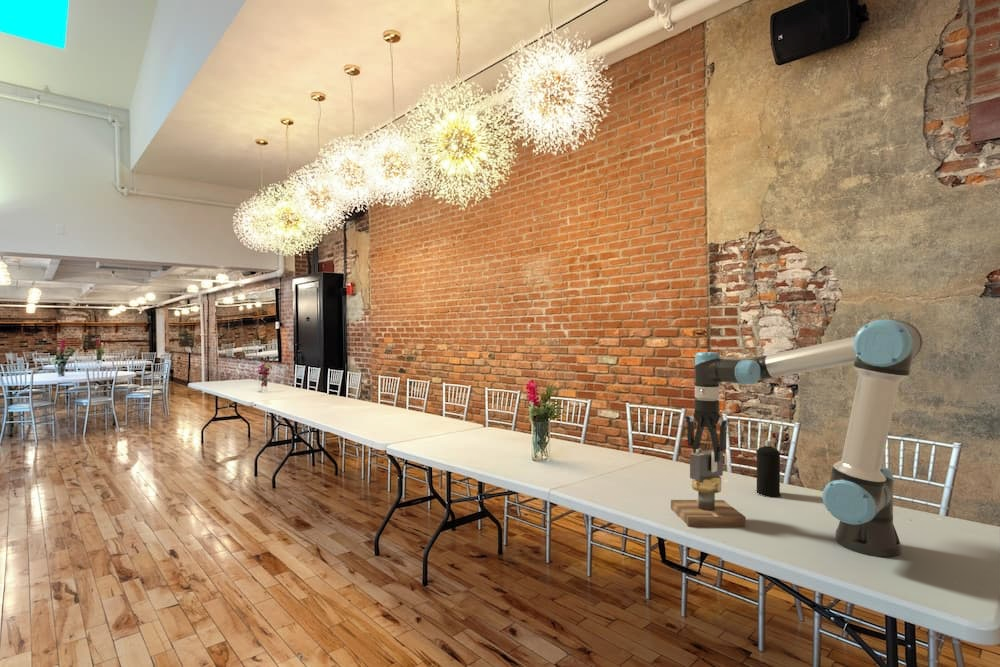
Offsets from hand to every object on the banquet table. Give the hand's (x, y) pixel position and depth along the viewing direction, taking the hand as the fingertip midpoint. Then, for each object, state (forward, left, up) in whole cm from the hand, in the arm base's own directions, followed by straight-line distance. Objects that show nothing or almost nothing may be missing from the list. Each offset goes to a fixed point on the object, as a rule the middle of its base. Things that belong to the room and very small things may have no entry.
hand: (706, 469), depth 167 cm
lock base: (0, 0, -16) cm, 16 cm away
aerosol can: (+24, -33, -16) cm, 44 cm away
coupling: (0, 0, -6) cm, 6 cm away
